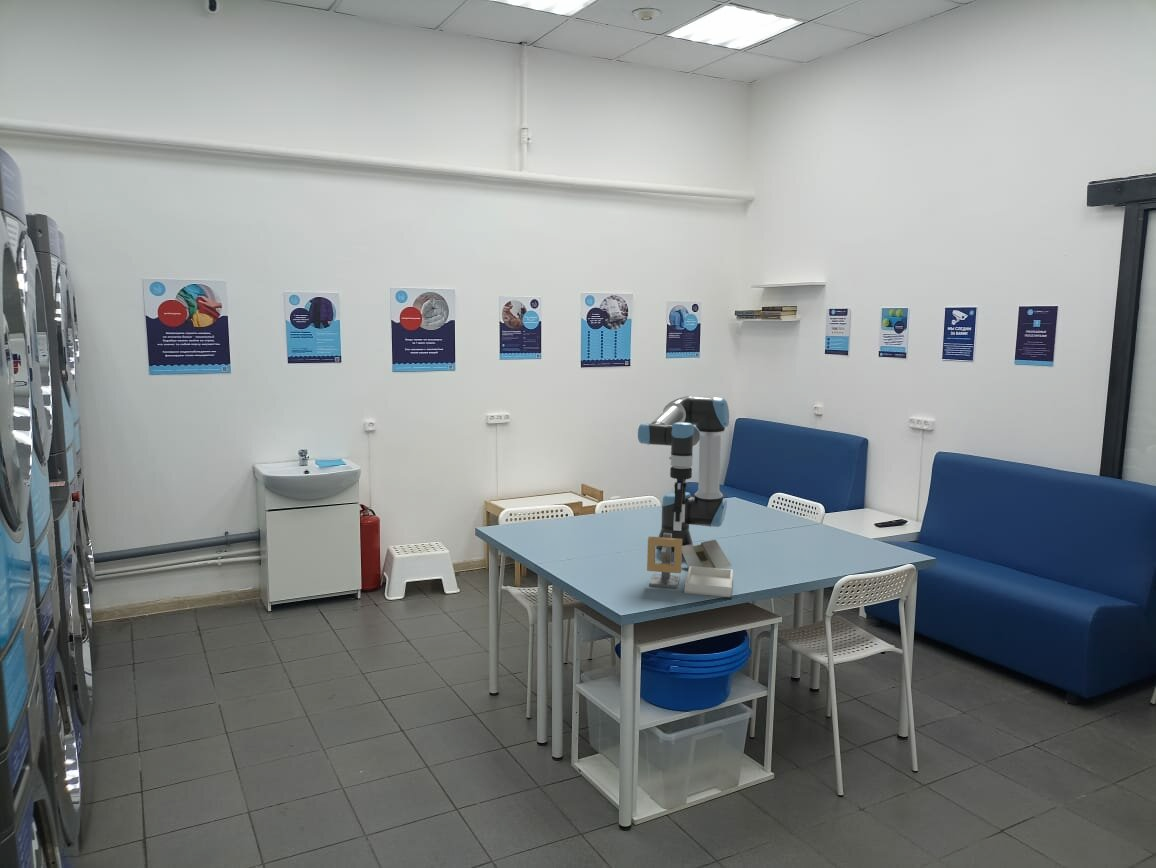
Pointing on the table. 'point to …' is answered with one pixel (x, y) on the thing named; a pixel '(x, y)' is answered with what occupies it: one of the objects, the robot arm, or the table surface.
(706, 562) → the grey angular piece
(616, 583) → the table surface
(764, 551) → the table surface
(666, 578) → the hook stand
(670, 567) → the picture frame
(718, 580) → the tray
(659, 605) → the table surface
